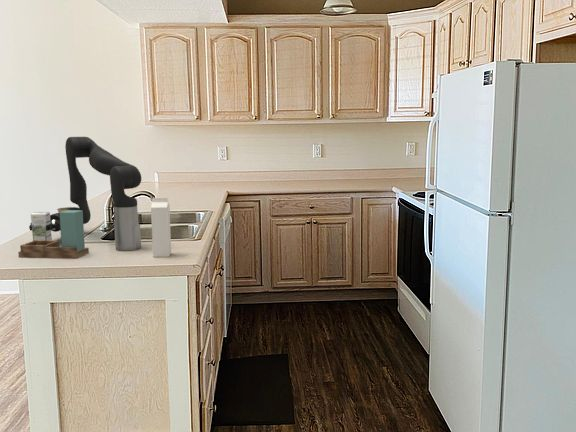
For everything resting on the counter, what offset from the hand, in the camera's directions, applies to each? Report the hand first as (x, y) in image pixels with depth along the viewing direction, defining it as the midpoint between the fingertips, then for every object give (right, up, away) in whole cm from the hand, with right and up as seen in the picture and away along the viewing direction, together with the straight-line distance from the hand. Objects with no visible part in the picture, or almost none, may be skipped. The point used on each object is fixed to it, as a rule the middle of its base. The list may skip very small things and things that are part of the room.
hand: (38, 228), depth 230 cm
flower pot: (-9, 0, +56) cm, 56 cm away
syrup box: (0, -8, +4) cm, 9 cm away
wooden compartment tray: (+10, -10, -9) cm, 17 cm away
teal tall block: (+18, -8, -11) cm, 23 cm away
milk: (+52, -10, -11) cm, 54 cm away
